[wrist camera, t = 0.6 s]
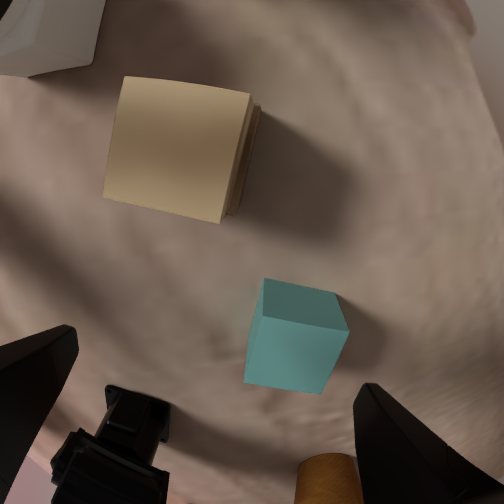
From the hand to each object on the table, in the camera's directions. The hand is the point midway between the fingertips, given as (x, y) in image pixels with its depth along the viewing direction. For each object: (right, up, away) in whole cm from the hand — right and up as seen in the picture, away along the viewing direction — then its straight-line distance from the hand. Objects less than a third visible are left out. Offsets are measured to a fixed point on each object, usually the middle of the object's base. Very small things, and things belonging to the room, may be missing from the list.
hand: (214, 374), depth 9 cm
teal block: (+4, -1, +14) cm, 14 cm away
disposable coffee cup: (+9, -21, +20) cm, 30 cm away
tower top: (-2, +9, +7) cm, 12 cm away
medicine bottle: (-13, +20, +7) cm, 25 cm away
